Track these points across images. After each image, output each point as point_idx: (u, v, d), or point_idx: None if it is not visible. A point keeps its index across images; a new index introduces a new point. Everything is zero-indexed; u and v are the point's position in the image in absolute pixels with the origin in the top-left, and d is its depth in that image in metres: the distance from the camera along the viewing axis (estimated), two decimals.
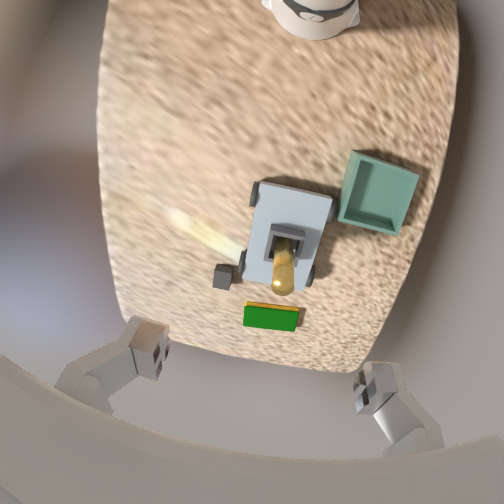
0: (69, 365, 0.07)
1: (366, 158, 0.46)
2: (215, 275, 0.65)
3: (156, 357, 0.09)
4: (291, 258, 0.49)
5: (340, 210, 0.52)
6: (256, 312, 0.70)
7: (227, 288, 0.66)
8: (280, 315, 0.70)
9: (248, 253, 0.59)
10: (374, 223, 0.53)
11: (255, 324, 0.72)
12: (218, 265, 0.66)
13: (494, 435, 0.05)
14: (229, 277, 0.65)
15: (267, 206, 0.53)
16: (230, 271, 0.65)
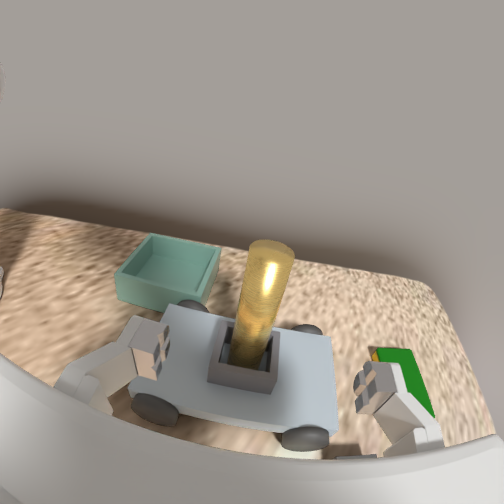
0: (69, 365, 0.07)
1: (121, 267, 0.39)
2: None
3: (156, 357, 0.09)
4: None
5: (186, 297, 0.38)
6: None
7: (372, 457, 0.22)
8: None
9: (276, 421, 0.24)
10: None
11: (424, 400, 0.29)
12: None
13: (494, 435, 0.05)
14: (346, 458, 0.22)
15: (171, 384, 0.26)
16: None
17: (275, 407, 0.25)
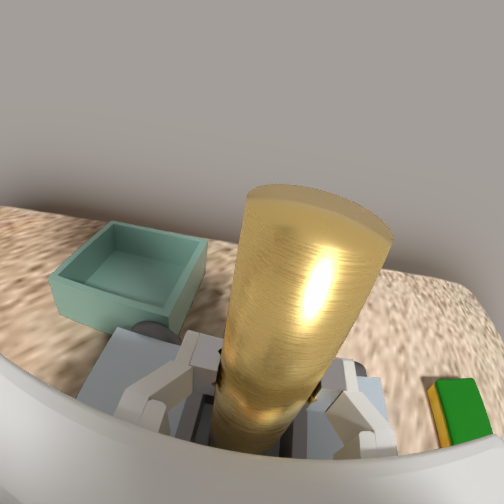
0: (127, 390, 0.07)
1: (59, 268, 0.24)
2: None
3: (217, 373, 0.09)
4: None
5: (147, 316, 0.22)
6: None
7: None
8: (455, 411, 0.19)
9: None
10: None
11: None
12: None
13: (494, 435, 0.05)
14: None
15: None
16: None
17: None
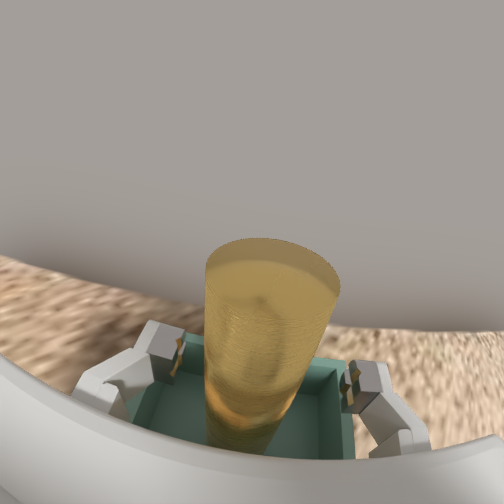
0: (86, 373, 0.07)
1: None
2: None
3: (174, 362, 0.09)
4: None
5: None
6: None
7: None
8: None
9: None
10: (331, 433, 0.15)
11: None
12: None
13: (494, 435, 0.05)
14: None
15: None
16: None
17: None
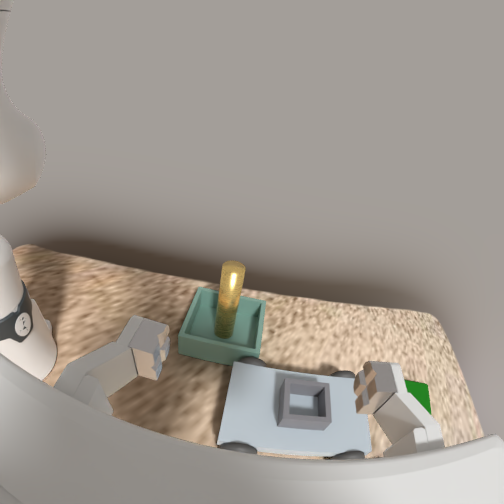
0: (69, 365, 0.07)
1: (182, 328, 0.45)
2: None
3: (156, 357, 0.09)
4: None
5: (246, 353, 0.44)
6: None
7: None
8: None
9: (329, 449, 0.30)
10: (257, 324, 0.51)
11: None
12: None
13: (494, 435, 0.05)
14: None
15: (251, 432, 0.32)
16: None
17: (328, 439, 0.31)
